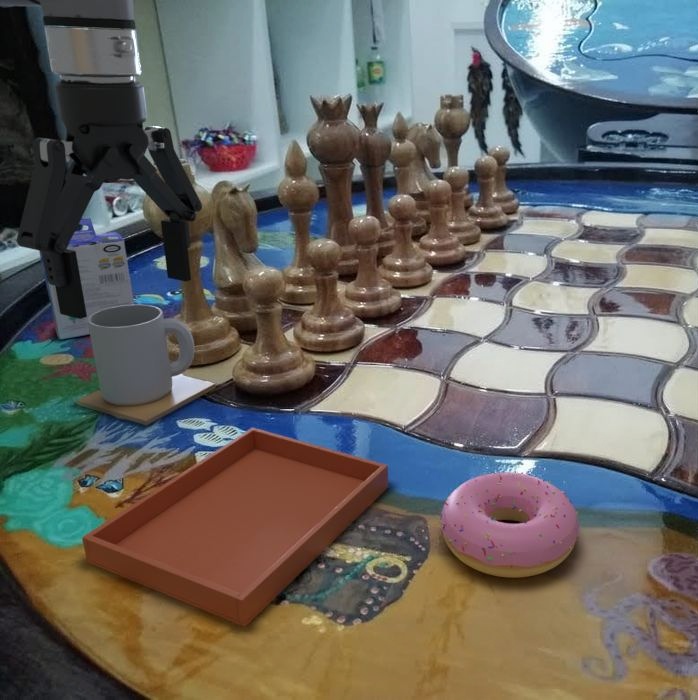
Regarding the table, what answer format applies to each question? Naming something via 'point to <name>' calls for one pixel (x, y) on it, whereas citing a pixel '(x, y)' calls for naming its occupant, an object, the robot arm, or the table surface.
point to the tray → (238, 523)
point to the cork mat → (147, 413)
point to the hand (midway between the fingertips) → (130, 296)
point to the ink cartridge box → (94, 278)
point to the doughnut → (509, 539)
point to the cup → (137, 353)
